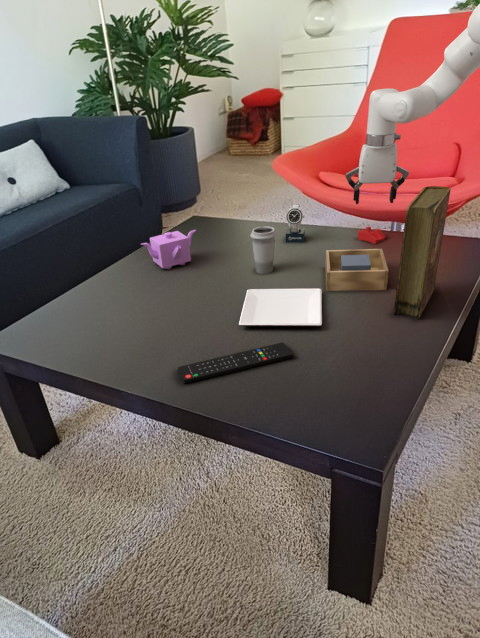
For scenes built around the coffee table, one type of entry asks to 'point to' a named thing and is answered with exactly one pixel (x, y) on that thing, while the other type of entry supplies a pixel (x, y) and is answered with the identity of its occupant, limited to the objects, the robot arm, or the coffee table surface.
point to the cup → (263, 248)
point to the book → (421, 250)
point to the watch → (295, 225)
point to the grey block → (355, 262)
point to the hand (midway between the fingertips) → (373, 202)
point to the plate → (282, 307)
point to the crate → (359, 278)
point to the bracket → (371, 235)
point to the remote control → (233, 362)
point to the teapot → (170, 249)
